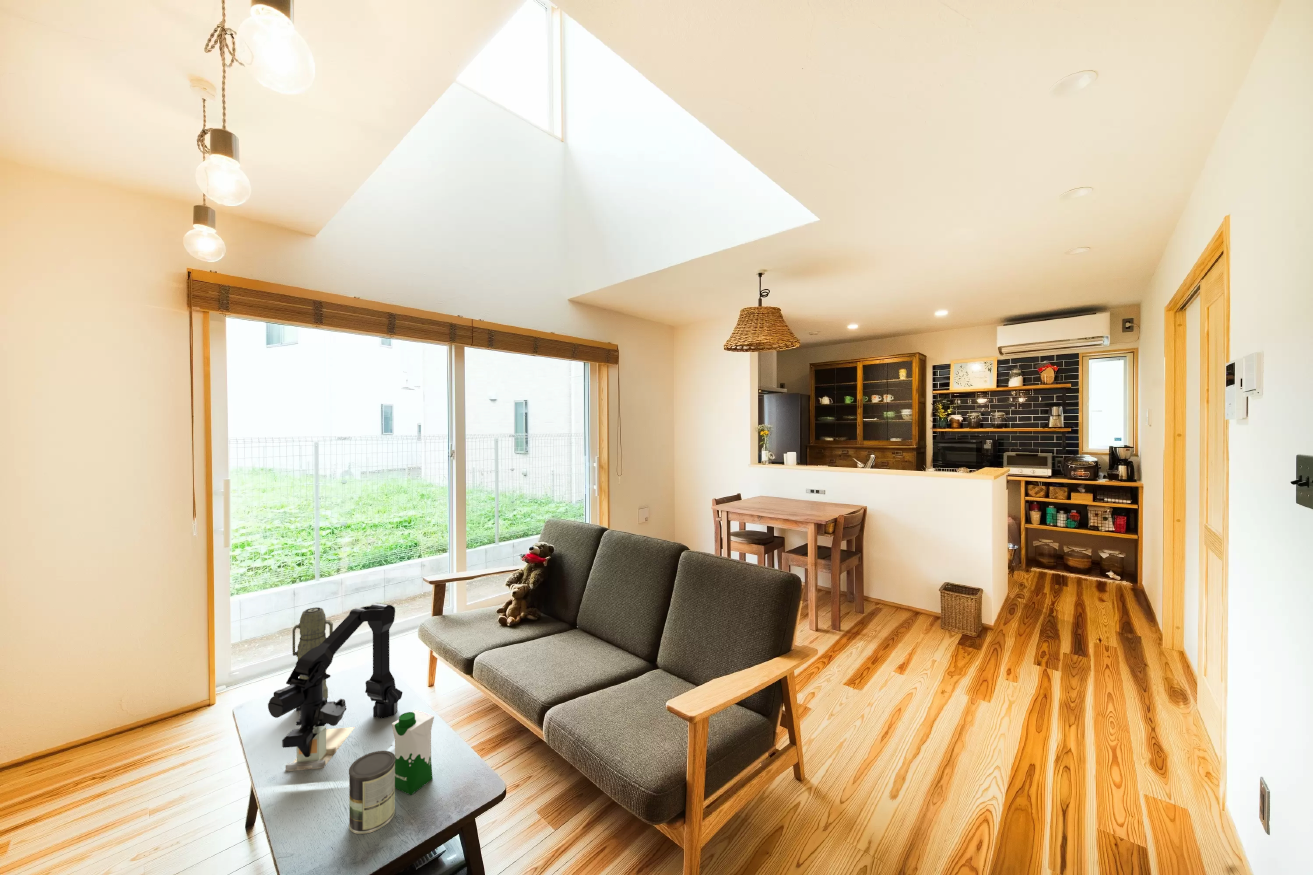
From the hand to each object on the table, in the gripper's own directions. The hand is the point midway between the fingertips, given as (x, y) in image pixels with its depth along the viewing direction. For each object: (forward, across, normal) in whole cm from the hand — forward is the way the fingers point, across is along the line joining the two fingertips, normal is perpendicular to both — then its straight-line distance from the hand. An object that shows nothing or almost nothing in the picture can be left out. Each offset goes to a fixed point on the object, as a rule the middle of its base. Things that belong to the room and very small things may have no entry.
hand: (311, 751), depth 146 cm
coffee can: (+4, -24, -26) cm, 36 cm away
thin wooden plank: (+4, +6, 0) cm, 7 cm away
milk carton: (+4, -12, -32) cm, 34 cm away
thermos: (+4, +33, +16) cm, 37 cm away
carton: (+2, 0, 0) cm, 2 cm away
